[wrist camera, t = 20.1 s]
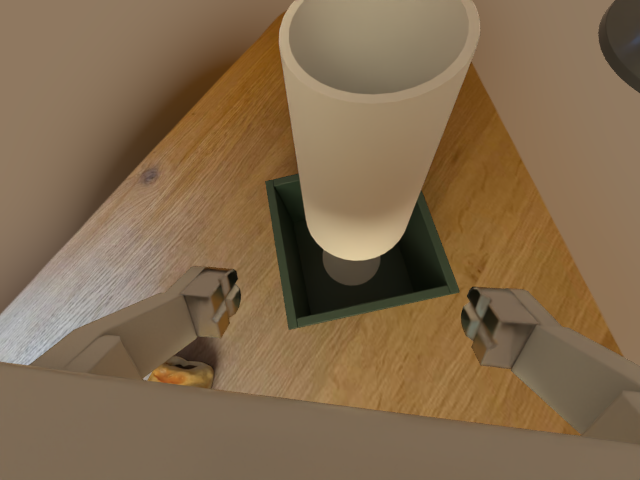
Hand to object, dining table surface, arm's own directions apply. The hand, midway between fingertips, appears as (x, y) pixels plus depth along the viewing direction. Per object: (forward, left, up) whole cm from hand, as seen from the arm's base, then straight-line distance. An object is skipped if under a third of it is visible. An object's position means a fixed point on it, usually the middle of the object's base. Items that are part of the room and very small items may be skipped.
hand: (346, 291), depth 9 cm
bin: (-2, -6, -20) cm, 21 cm away
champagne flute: (-2, -5, -19) cm, 20 cm away
